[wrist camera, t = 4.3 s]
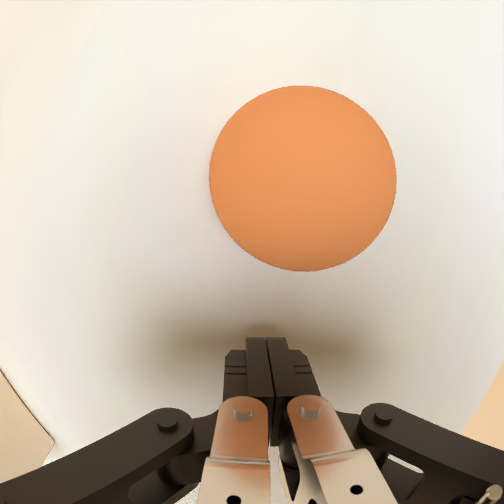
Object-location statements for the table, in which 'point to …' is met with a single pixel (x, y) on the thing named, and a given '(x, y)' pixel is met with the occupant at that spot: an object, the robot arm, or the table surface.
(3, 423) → the medicine bottle
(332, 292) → the table surface
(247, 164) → the ball
